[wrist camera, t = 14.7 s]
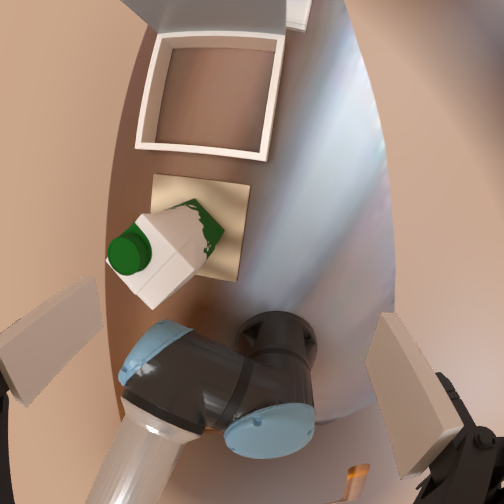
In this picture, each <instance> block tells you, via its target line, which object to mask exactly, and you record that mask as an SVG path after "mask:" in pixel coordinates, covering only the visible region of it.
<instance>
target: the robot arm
mask: <svg viewBox="0 0 504 504" xmlns="http://www.w3.org/2000/svg"><path fill="white" fill-rule="evenodd" d="M102 327H103V321H102V316H101V311H100V305H99V299H98V293H97V286H96V279H95V278H93V277H88V276H83V277H81V278H80V279H78V280H76V281H75V282H73V283H72V284H70V285H69V286H67V287H66V288H64V289H63V290H61V291H60V292H58V293H57V294H55V295H54V296H52V297H51V298H49V299H48V300H46V301H45V302H43V303H42V304H41V305H39V306H38V307H36V308H35V309H34V310H32V311H31V312H29V313H28V314H26V315H25V316H24V317H22V318H21V319H19V320H18V321H16V322H15V323H14V324H12V326H10V327H8V328H7V329H6V330H4V331H3V332H2V333H0V504H15V502H14V498H13V497H14V496H13V490H12V484H11V475H10V465H9V451H8V408H9V398H8V395H7V393H6V392H7V391H8V390H9V389H10V391H11V393H12V394H13V396H14V398H15V400H16V401H18V402H19V403H21V404H22V405H24V406H25V407H28V406H29V405H30V403H32V401H33V400H34V399H35V398H36V397H37V396H38V395H39V394H40V392H41V391H42V390H43V389H44V388H45V387H46V386H47V385H48V384H49V382H50V381H51V380H52V379H53V378H54V377H55V376H56V375H57V374H58V373H59V372H60V371H61V370H62V368H63V367H64V366H65V365H66V364H67V363H68V362H69V361H70V360H71V359H72V358H73V357H74V356H75V355H76V354H77V353H78V352H79V351H80V349H82V347H84V346H85V344H86V343H87V342H88V341H89V340H90V339H91V338H92V337H93V336H94V335H95V334H96V333H97V332H98V331H99V330H100V329H101V328H102ZM316 354H317V343H316V337H315V334H314V332H313V330H312V328H311V327H310V325H309V324H308V323H307V322H306V321H304V320H303V319H301V318H300V317H298V316H296V315H293V314H291V313H287V312H279V311H274V312H266V313H262V314H259V315H257V316H254V317H253V318H251V319H250V320H248V321H247V322H246V323H245V324H244V325H243V326H242V327H241V329H240V331H239V333H238V335H237V339H236V343H235V350H233V349H230V348H228V347H226V346H224V345H222V344H220V343H218V342H216V341H214V340H211V339H209V338H207V337H205V336H203V335H201V334H199V333H197V332H195V330H194V329H193V328H187V327H185V326H183V325H181V324H179V323H177V322H174V321H172V320H168V319H166V320H161V321H159V322H157V323H155V324H154V325H153V326H152V327H150V328H149V329H148V330H147V331H146V332H145V334H144V335H143V336H142V337H141V338H140V339H139V341H138V342H137V343H136V345H135V346H134V347H133V349H132V350H131V352H130V353H129V355H128V356H127V358H126V360H125V362H124V365H123V366H122V368H121V370H120V372H119V375H118V380H119V382H120V383H121V385H122V386H124V387H126V388H125V390H124V392H123V394H122V396H121V401H122V404H123V406H124V409H125V416H124V418H123V420H122V423H121V425H120V427H119V429H118V431H117V433H116V435H115V437H114V439H113V441H112V444H111V446H110V448H109V450H108V452H107V454H106V457H105V459H104V461H103V463H102V465H101V468H100V470H99V472H98V474H97V477H96V479H95V481H94V483H93V486H92V488H91V490H90V493H89V495H88V497H87V500H86V502H85V504H157V502H158V500H159V498H160V496H161V494H162V491H163V489H164V487H165V485H166V483H167V481H168V479H169V477H170V474H171V472H172V470H173V468H174V466H175V464H176V462H177V460H178V457H179V455H180V453H181V451H182V449H183V447H184V445H185V443H187V442H188V441H191V440H194V439H197V438H200V437H201V435H202V433H203V431H204V429H205V427H206V426H208V427H211V428H214V429H216V430H219V431H221V432H224V439H225V443H226V445H227V446H228V447H229V448H231V450H232V451H233V452H235V453H237V454H239V455H241V456H245V457H249V458H257V459H268V458H277V457H281V456H286V455H289V454H292V453H294V452H296V451H298V450H300V449H301V448H303V447H304V446H305V445H306V444H307V443H308V442H309V441H310V440H311V438H312V436H313V434H314V426H315V415H316V412H315V410H314V401H313V392H312V384H311V376H310V371H311V368H312V366H313V363H314V361H315V358H316ZM365 365H366V368H367V371H368V374H369V377H370V379H371V382H372V385H373V388H374V391H375V394H376V397H377V400H378V403H379V407H380V410H381V413H382V416H383V419H384V423H385V426H386V429H387V433H388V436H389V439H390V442H391V446H392V450H393V453H394V457H395V461H396V465H397V468H398V472H399V476H400V480H402V479H407V478H411V477H416V476H419V475H421V474H422V472H424V471H425V470H426V469H427V468H428V467H429V469H430V472H431V474H430V475H429V476H428V477H427V478H425V479H424V480H423V481H422V482H421V483H420V484H419V485H418V486H417V487H416V490H418V489H419V488H420V487H422V488H421V490H420V492H419V494H418V496H417V498H416V499H415V501H414V503H413V504H504V487H503V488H501V482H502V481H504V437H496V436H495V434H494V433H493V432H492V431H491V430H490V429H488V428H487V427H482V426H476V425H475V423H474V421H473V419H472V417H471V416H470V414H469V412H468V410H467V409H466V407H465V405H464V403H463V402H462V400H461V399H460V397H459V395H458V393H457V392H455V388H454V387H453V385H452V383H451V382H450V381H449V379H448V378H446V377H445V376H444V375H443V374H442V373H441V372H438V373H435V372H434V371H433V369H432V368H431V366H430V364H429V363H428V361H427V359H426V358H425V356H424V355H423V353H422V351H421V350H420V348H419V347H418V345H417V344H416V342H415V341H414V339H413V337H412V336H411V334H410V333H409V332H408V330H407V329H406V327H405V326H404V324H403V323H402V321H401V320H400V318H399V317H398V315H397V314H396V313H384V312H381V314H380V317H379V321H378V324H377V327H376V330H375V333H374V336H373V339H372V342H371V345H370V348H369V351H368V354H367V357H366V359H365Z"/></svg>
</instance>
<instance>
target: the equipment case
mask: <svg viewBox="0 0 504 504" xmlns="http://www.w3.org/2000/svg"><path fill="white" fill-rule="evenodd" d="M121 1H122V2H123V3H124V4H126V5H127V6H128V7H129V8H130V9H131V10H132V11H134V12H135V13H136V14H137V15H138V16H139V17H140V18H142V20H144V21H145V22H146V23H147V24H148V25H149V26H150V27H151V28H152V29H153V30H154V31H155V32H156V33H158V35H157V39H156V42H155V46H154V50H153V53H152V57H151V62H150V66H149V70H148V74H147V79H146V84H145V88H144V93H143V99H142V104H141V110H140V115H139V122H138V128H137V135H136V142H135V149H144V150H159V151H174V152H186V153H198V154H208V155H217V156H226V157H234V158H242V159H249V160H256V161H263V162H267V161H268V155H269V148H270V142H271V135H272V129H273V122H274V116H275V109H276V103H277V96H278V90H279V84H280V77H281V71H282V64H283V58H284V51H285V34H286V13H287V0H121ZM177 48H236V49H251V50H262V51H271V52H275V58H274V64H273V70H272V77H271V83H270V89H269V95H268V102H267V108H266V114H265V121H264V127H263V134H262V140H261V146H260V153H255V152H248V151H241V150H232V149H224V148H215V147H204V146H193V145H180V144H164V143H155V138H156V132H157V125H158V119H159V113H160V107H161V101H162V96H163V91H164V86H165V81H166V76H167V72H168V67H169V63H170V58H171V54H172V50H173V49H177Z"/></svg>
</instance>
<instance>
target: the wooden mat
mask: <svg viewBox="0 0 504 504" xmlns="http://www.w3.org/2000/svg"><path fill="white" fill-rule="evenodd" d="M250 186H251V185H245V184H238V183H231V182H224V181H216V180H208V179H200V178H191V177H182V176H173V175H163V174H154V178H153V189H152V201H151V214H155V213H158V212H160V211H163V210H165V209H168V208H171V207H173V206H176V205H178V204H181V203H183V202H186V201H188V200H191V199H193V198H195V199H196V200H197V201H198V202H199V203H200V205H201V206H202V207H203V208H204V209H205V210H206V211H207V212H208V213H209V214H210V215H211V216H212V217H213V218H214V219H215V220H216V221H217V222H218V224H219V225H220V226H221V227H222V228H223V229H224V230H225V231H224V233H223V235H222V236H221V238H220V240H219V242H218V244H217V246H216V248H215V249H214V251H213V252H212V254H211V255H210V256H209V258H208V259H207V260H206V261H205V263H204V264H203V265H202V266H201V268H200V269H199V270H198V272H197V273H196V274H195V275H200V276H205V277H210V278H216V279H221V280H226V281H232V282H236V281H237V276H238V269H239V262H240V255H241V248H242V241H243V234H244V227H245V220H246V213H247V207H248V200H249V193H250Z"/></svg>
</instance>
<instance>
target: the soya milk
mask: <svg viewBox="0 0 504 504" xmlns="http://www.w3.org/2000/svg"><path fill="white" fill-rule="evenodd" d="M224 231H225V230H224V229H223V228H222V227H221V226H220V225H219V224H218V222H217V221H216V220H215V219H214V218H213V217H212V216H211V215H210V214H209V213H208V212H207V211H206V210H205V209H204V208H203V207H202V206H201V205H200V203H199V202H198V201H197V200H196V199H195V198H193V199H191V200H188V201H186V202H183V203H181V204H178V205H176V206H173V207H171V208H168V209H165V210H163V211H160V212H158V213H155V214H141V215H140V217H139V218H138V219H137V220H136V222H133V224H132V225H131V226H130V227H129V228H128V229H127V230H125V231H124V232H123V233H122V234H121V235H120V236H119V237H117V238H115V239H114V240H112V241H111V243H110V244H109V246H108V251H107V256H108V257H107V259H106V262H107V263H108V264H109V265H110V266H111V268H112V269H113V270H114V271H115V272H116V273H117V274H118V276H119V277H120V278H121V279H122V280H123V281H124V282H125V283H126V284H127V286H128V287H129V288H130V290H131V291H132V292H133V293H134V294H135V295H138V296H139V297H140V298H141V299H142V300H143V301H144V302H145V303H146V304H147V305H148V306H149V307H150V308H151V309H152V310H154V309H155V308H156V307H157V306H158V305H160V304H161V303H162V302H163V301H165V300H166V299H167V298H168V297H170V296H171V295H172V294H173V293H175V292H176V291H177V290H179V289H180V288H181V287H182V286H183V285H184V284H185V283H186V282H187V281H189V280H190V279H191V278H192V277H193V276H194V275H195V274H196V273H197V272H198V270H199V269H200V268H201V266H202V265H203V264H204V263H205V261H206V260H207V259H208V258H209V256H210V255H211V254H212V252H213V251H214V249H215V248H216V246H217V244H218V242H219V240H220V238H221V236H222V235H223V233H224Z"/></svg>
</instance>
